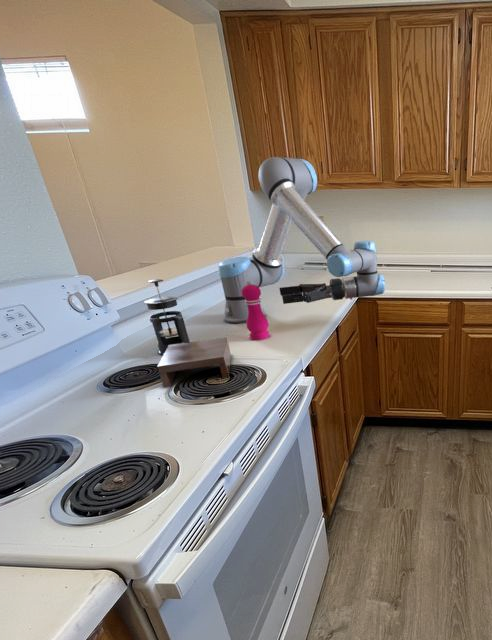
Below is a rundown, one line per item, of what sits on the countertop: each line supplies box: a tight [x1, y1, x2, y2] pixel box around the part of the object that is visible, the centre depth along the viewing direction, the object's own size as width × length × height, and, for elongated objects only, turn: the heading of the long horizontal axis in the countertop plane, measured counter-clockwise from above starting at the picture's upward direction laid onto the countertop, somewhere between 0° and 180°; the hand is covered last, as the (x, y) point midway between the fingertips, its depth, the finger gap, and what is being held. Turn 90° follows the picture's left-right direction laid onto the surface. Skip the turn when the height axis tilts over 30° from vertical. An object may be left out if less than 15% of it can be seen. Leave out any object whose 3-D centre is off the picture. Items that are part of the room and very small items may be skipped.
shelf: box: [156, 337, 232, 388], centre depth 119 cm, size 18×16×6 cm
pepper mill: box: [242, 280, 270, 341], centre depth 142 cm, size 7×7×20 cm
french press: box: [144, 278, 190, 356], centre depth 132 cm, size 12×9×23 cm
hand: (281, 295), depth 143 cm, fingers open, 13 cm apart
